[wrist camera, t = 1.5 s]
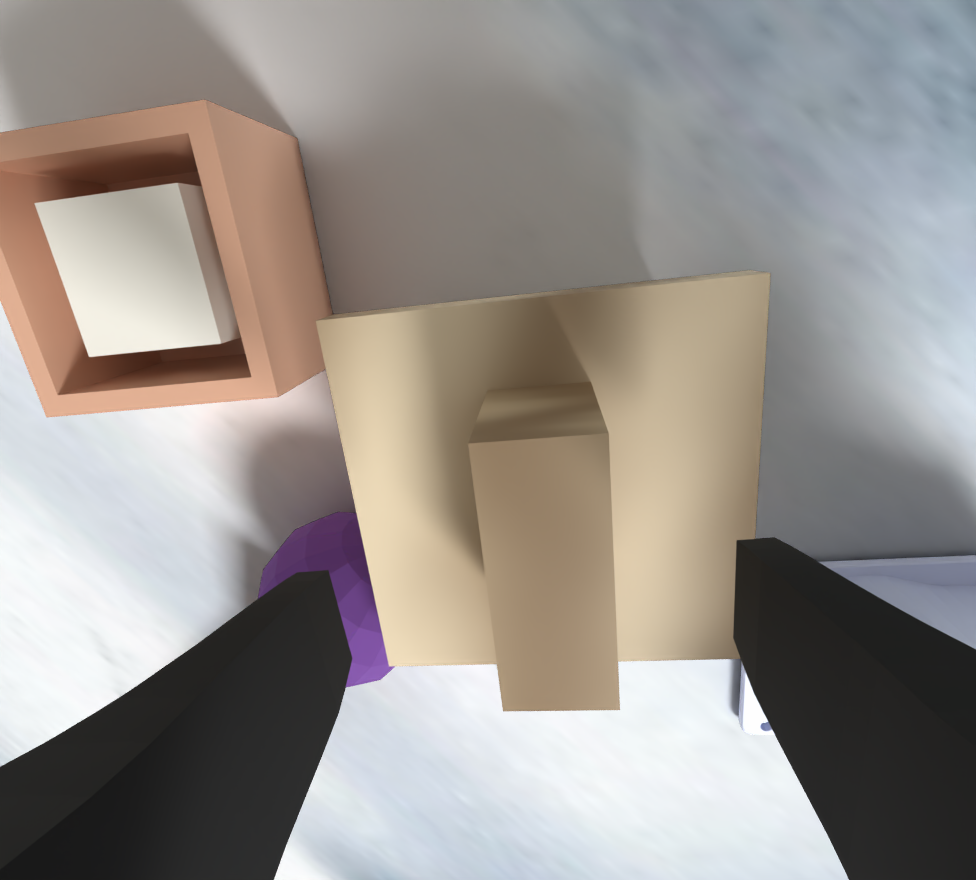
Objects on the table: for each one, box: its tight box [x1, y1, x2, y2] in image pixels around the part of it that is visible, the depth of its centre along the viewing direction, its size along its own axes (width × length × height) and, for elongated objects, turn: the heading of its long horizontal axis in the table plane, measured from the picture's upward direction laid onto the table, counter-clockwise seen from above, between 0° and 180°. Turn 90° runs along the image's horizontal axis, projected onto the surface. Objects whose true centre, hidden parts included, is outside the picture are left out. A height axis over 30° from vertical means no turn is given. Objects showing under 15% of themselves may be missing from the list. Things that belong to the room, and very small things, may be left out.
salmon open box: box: [0, 100, 333, 417], centre depth 16 cm, size 7×7×5 cm
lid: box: [316, 270, 771, 711], centre depth 13 cm, size 10×10×5 cm
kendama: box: [258, 512, 395, 687], centre depth 22 cm, size 6×6×20 cm
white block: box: [34, 183, 241, 357], centre depth 16 cm, size 4×4×4 cm
